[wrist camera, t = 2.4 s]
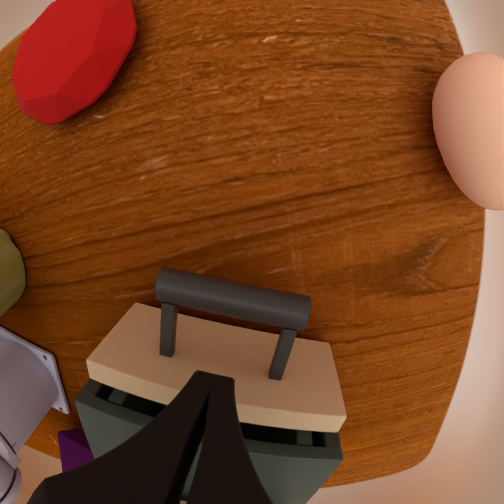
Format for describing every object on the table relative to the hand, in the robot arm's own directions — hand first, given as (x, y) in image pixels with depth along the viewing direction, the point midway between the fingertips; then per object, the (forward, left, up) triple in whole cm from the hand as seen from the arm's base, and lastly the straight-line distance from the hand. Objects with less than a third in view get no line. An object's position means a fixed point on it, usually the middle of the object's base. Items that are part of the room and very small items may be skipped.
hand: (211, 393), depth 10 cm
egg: (+10, +17, -4) cm, 20 cm away
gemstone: (-12, +13, -8) cm, 19 cm away
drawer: (0, -5, -7) cm, 8 cm away
